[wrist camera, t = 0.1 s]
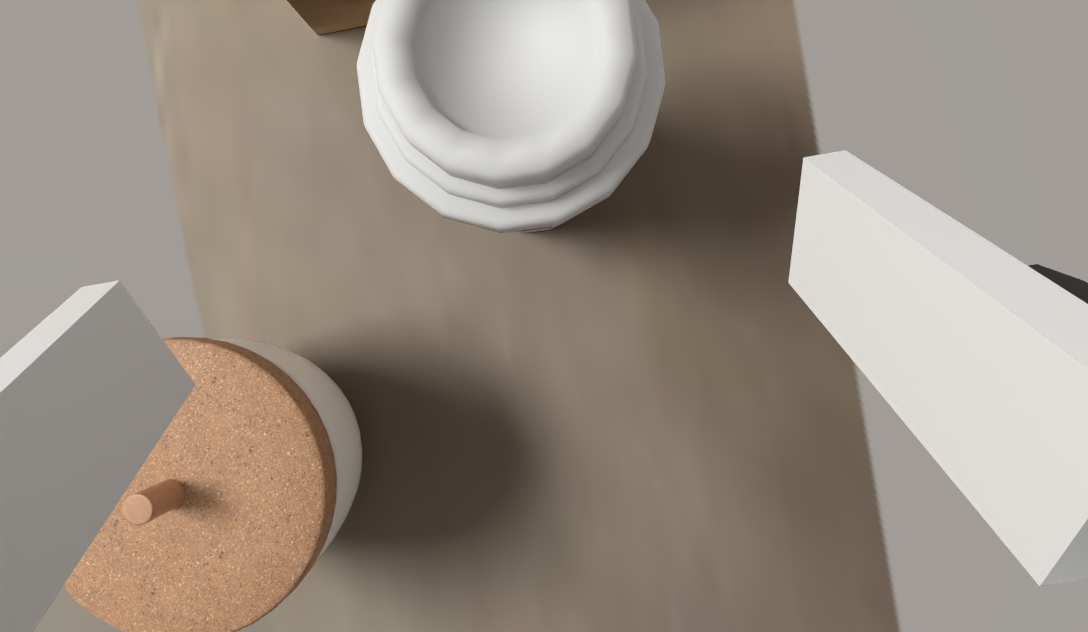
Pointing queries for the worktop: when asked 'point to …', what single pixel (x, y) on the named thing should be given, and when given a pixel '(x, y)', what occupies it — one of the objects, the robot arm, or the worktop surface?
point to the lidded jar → (227, 495)
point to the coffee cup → (511, 103)
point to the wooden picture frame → (333, 14)
